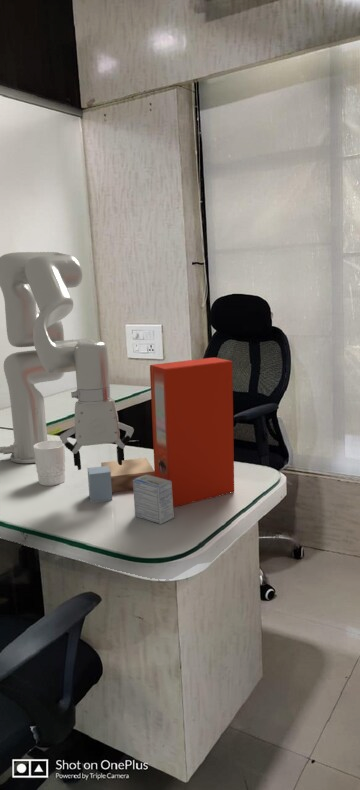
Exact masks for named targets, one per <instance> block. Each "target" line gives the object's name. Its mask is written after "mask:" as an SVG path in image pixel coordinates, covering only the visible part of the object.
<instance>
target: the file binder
mask: <svg viewBox="0 0 360 790" xmlns="http://www.w3.org/2000/svg"><path fill="white" fill-rule="evenodd" d="M149 376H150V377H149V378H150V398H151V399H150V401H151V422H152V423H151V424H152V445H153V464H154V465H153V470H154V471H155V477H158V478H162V479H166V480H169V481H171V482H172V497H173V508H175V507H176V508H177V507H179V506H183V505H187V504H191V503H196V502H200V501H203V500H208V499H212V498H213V499H214V498H216V496H217V497H220V496H219V495H221V496H223V495H222V494H225V495H227V494H226V493H229V494H231V493H230V492H233V493H235V462H234V461H235V460H234V459H235V458H234V457H235V453H234V451H235V450H234V448H235V447H234V443H235V441H234V392H233V390H234V389H233V388H234V387H233V361H232V360H229V359H224V358H219V357H205V358H198V359H189V360H182V361H171V362H164V363H155V364H150V365H149Z"/></svg>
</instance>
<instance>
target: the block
mask: <svg viewBox="0 0 360 790" xmlns="http://www.w3.org/2000/svg"><path fill="white" fill-rule="evenodd" d="M86 469H87V480H88V481H87V482H88V483H87V484H88V494H89V496H88V497H89V499H90V502H91V503H100V502H108V501H113V492H112V486H111V472H110V469H109V467H108V466H94V467H87V468H86Z"/></svg>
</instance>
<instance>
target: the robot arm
mask: <svg viewBox="0 0 360 790" xmlns="http://www.w3.org/2000/svg"><path fill="white" fill-rule="evenodd" d="M82 279H83V270H82V266H81V264H80V262H79V260H78V259H77V258H76V257H75V256H73V255H72V254H71V255H70V254H66V253H62V252H56V251H43V252H42V251H33V252H32V251H21V252H20V251H18V252H9V253H4V254H3V255H1V256H0V290H1V293H2V294H3V299H4V311H5V312H4V313H5V327H6V335H7V340H8V343H9V344H10V345H11V346H12V347H15V348H28V347H29V348H30V347H34V349H35V350H34V349H31V350H25V351H17V352H13V353H11V354H9V355H8V356H7V357H5V359H4V362H3V372H4V375H5V379H6V383H7V387H8V388H7V389H8V392H9V400H10V410H11V411H10V412H11V419H12V420H11V421H12V431H13V444H9V446H4V445H3V446H0V454H3V455H9V454H10V456H9V457H10V461H11V462H13V463H15V464H16V463H17V464H33V463H35V464H36V462H35V455H34V447H33V446H34V445H35V444H37V443H40V442H45V441H48V432H47V431H48V430H47V419H46V408H45V407H46V405H45V399H44V396H43V394H42V392H40V391H39V390H38V388H37V387H36V386H35V385H36V384H39V383H45V382H46V383H47V382H53V381H58V380H60V379H62V377H64V375H65V373H71V372H72V373H73V372H75V378H76V390H75V391H71V392H70V393H71V394H70V396H71V399H77V400H76V401H75V404H74V421H73V423H74V425H73V426H72V427H70V428H69V429H67V430H66V431H64V432H62V433H61V434H59V439H60V441H62V442H63V444H64V445H65V449H68V450H69V451H70V452H71V453H72V454H73V464H74V467H77V471H81V470H82V463H81V454H80V453H81V452H80V451H79V450H80V449H81V448H82V447H83V446H84V447H85V446H87V447H88V446H97V445H106V444H107V445H108V444H113V443H115V444H116V445H117V446H116V457H117V458H116V459H117V460H116V461H118V464H119V465H122V461H123V460H125V450H124V448H126V447H125V446H126V445H128V443H129V442H130V441H131V438H132V436H133V434H134V431H135V429H134V427H132V426H130V425H127V424H125V423H123V422H120V421H119V415H118V410H117V406H116V402H115V399H114V398H111V385H110V372H109V371H110V370H109V359H108V348H107V345H106V343H105V342H103V341H99V340H98V341H97V340H96V341H95V340H94V339H91V338H79V339H66V340H65V333H64V332H65V331H64V325H63V322H62V320H63V319H64V318H65V317H67V316H68V315H70V313H71V312H72V310H73V309H74V300H73V298H72V296H71V294H70V291H69V290H68V289H73V288H77V287H79V286H80V284H81V283H82ZM28 285H29V286H28ZM37 307H38V308H37ZM37 309H38V310H39V312H38V311H37ZM120 430H122V431H125V435H124V436H123V438H122V439H121V437H120V436H121V433H120ZM72 435H75V436H74V437H75V442H74V444H73V443H71V442H70V441H69V439H68V438H69V437H71V436H72Z"/></svg>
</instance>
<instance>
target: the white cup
mask: <svg viewBox="0 0 360 790" xmlns="http://www.w3.org/2000/svg"><path fill="white" fill-rule="evenodd" d="M33 447H34V455H35V462H36V463H35V468H36V473H37V479H38V481H37V482H38V483H39V485H41V486H48V487H49V486H57V485H60V484H63V483H64V482H65V481H66V450H65V449H66V447H65V445H64V444H63V442H62V441H61V440H47V441H45V442H40V443H37V444H35V445H34V446H33Z"/></svg>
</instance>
